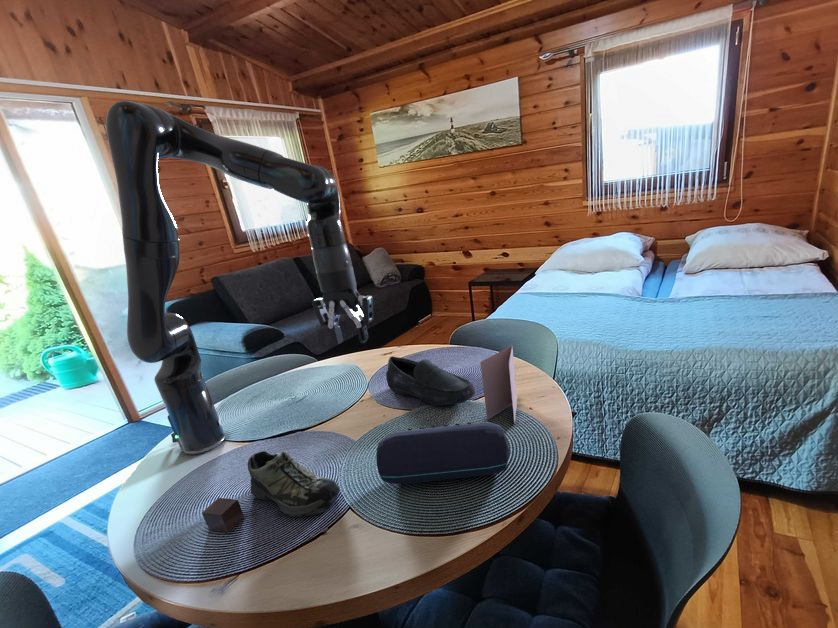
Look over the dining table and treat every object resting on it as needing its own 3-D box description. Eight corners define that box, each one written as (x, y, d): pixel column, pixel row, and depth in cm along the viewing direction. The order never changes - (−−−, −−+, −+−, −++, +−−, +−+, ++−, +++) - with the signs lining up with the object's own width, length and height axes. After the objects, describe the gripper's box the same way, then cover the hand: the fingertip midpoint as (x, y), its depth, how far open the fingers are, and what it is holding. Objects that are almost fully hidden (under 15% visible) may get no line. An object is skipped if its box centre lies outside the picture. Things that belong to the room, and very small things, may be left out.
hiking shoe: (319, 526, 75) (306, 482, 72) (237, 501, 84) (222, 462, 81) (350, 495, 82) (340, 454, 79) (271, 475, 92) (258, 437, 88)
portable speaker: (508, 452, 89) (503, 410, 85) (513, 484, 80) (508, 438, 76) (388, 465, 90) (379, 423, 86) (379, 497, 81) (368, 452, 77)
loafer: (464, 414, 106) (459, 376, 102) (377, 396, 121) (369, 362, 117) (484, 395, 114) (480, 359, 110) (400, 380, 129) (394, 349, 125)
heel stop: (208, 530, 78) (201, 512, 77) (225, 514, 82) (218, 497, 80) (228, 532, 77) (221, 515, 75) (244, 516, 80) (237, 499, 79)
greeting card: (514, 399, 110) (509, 344, 104) (538, 406, 105) (534, 349, 99) (484, 419, 102) (477, 361, 97) (508, 428, 97) (502, 367, 92)
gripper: (372, 261, 92) (387, 335, 98) (314, 266, 96) (332, 337, 102) (355, 268, 85) (372, 348, 91) (294, 273, 89) (314, 349, 95)
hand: (351, 342), depth 97 cm, fingers open, 5 cm apart
